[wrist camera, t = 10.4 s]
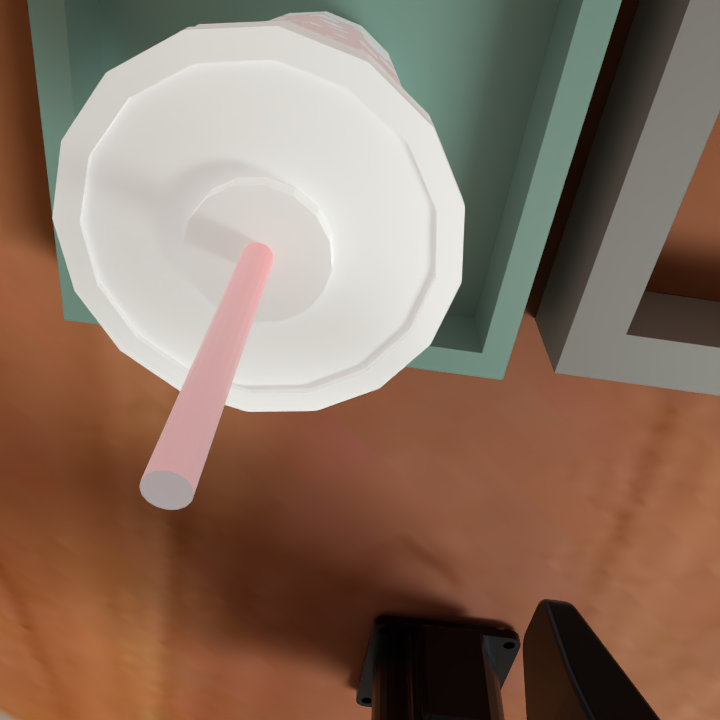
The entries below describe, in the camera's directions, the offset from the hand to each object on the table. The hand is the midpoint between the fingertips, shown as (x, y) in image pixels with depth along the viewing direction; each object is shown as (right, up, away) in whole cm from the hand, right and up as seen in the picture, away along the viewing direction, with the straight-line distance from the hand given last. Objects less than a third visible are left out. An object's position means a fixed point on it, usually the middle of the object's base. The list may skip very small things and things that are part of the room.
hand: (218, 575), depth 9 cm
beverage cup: (+1, +10, +8) cm, 13 cm away
